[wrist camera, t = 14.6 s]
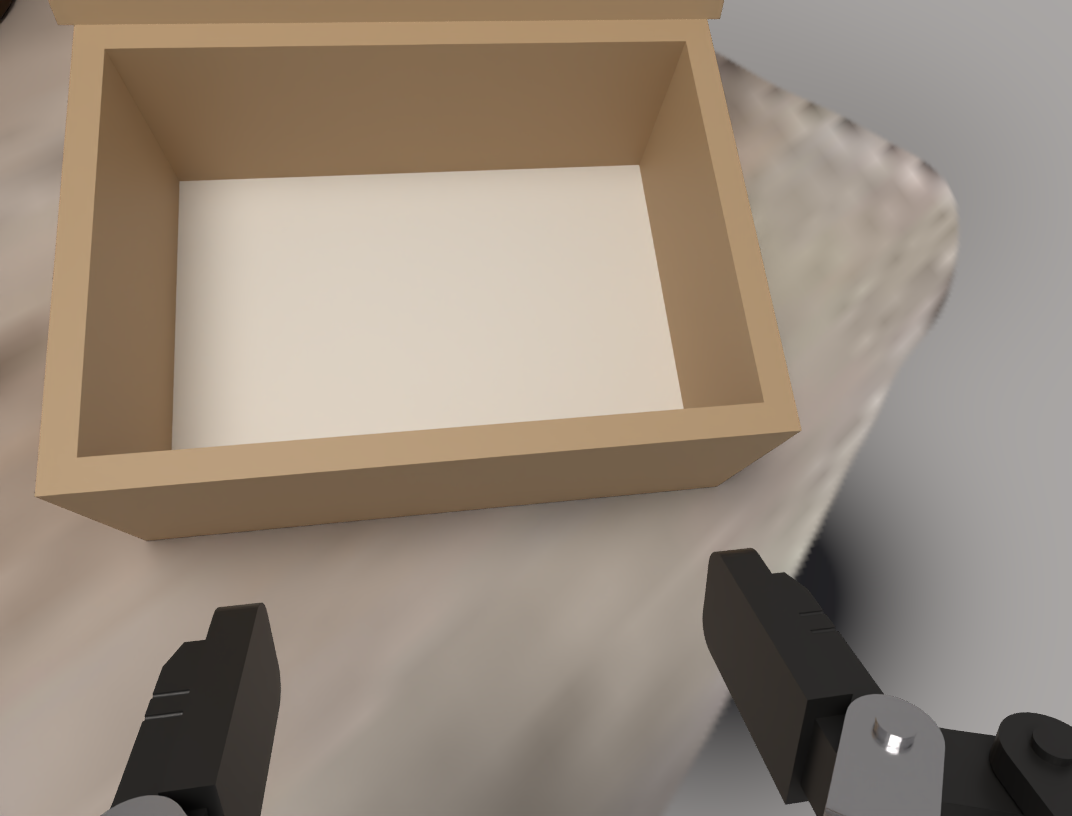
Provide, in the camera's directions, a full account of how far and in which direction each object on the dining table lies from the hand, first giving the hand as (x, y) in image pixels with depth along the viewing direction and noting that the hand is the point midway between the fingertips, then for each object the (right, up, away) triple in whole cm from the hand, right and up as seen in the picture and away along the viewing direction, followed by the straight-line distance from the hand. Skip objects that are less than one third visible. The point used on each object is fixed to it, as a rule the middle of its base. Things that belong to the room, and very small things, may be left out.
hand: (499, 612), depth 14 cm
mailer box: (-4, +7, +18) cm, 20 cm away
